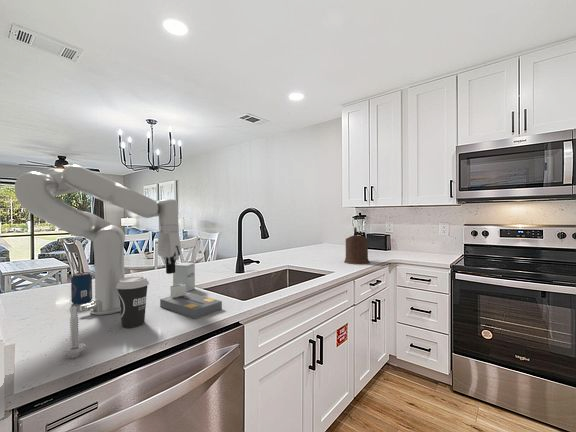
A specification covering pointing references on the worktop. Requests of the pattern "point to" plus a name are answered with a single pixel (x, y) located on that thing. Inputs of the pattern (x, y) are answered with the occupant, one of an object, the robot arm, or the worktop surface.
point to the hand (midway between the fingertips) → (170, 272)
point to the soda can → (81, 288)
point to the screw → (74, 337)
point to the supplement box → (185, 275)
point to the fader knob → (178, 290)
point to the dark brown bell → (356, 249)
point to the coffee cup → (132, 300)
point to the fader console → (191, 305)
